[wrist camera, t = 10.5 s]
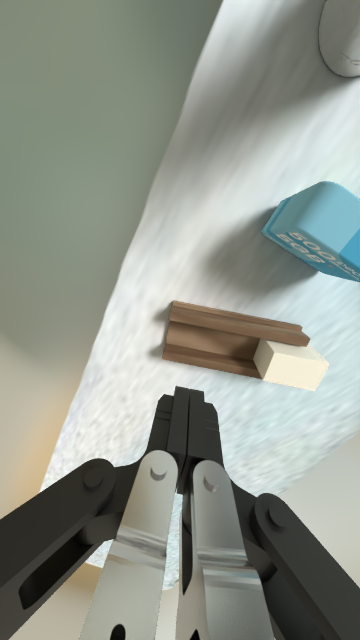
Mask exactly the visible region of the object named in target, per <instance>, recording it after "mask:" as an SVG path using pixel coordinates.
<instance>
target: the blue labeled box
mask: <svg viewBox="0 0 360 640" xmlns="http://www.w3.org/2000/svg"><path fill="white" fill-rule="evenodd" d="M262 234H263V235H264V236H265V237H267V238H268V239H270V240H271V241H273V242H275V243H276V244H278V245H279V246H281V247H282V248H284V249H285V250H287V251H288V252H290V253H291V254H293V255H294V256H296V257H298V258H299V259H301V260H302V261H304V262H305V263H307V264H308V265H310V266H311V267H313V268H314V269H316V270H318V271H320V272H322V273H325V274H328V275H332V276H336V277H340V278H344V279H348V280H352V281H357V282H360V199H359V198H358V197H357V196H355V195H354V194H352V193H351V192H350V191H348V190H347V189H345V188H344V187H343V186H341V185H339V184H337V183H334V182H328V181H324V182H319V183H317V184H315V185H313V186H311V187H309V188H307V189H305V190H303V191H301V192H299V193H297V194H295V195H293V196H291V197H289V198H287V199H284V200H282V201H281V202H280V204H279V205H278V207H277V208H276V210H275V211H274V213H273V214H272V216H271V217H270V219H269V220H268V222H267V223H266V225H265V226H264V228H263V229H262Z"/></svg>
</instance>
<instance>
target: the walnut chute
mask: <svg viewBox="0 0 360 640" xmlns="http://www.w3.org/2000/svg"><path fill="white" fill-rule="evenodd" d="M169 320H170V322H169V328H168V334H167V339H166V344H165V347H164V351H163V356H162V359H164V360H169V361H174V362H179V363H184V364H189V365H194V366H199V367H204V368H209V369H214V370H219V371H224V372H229V373H234V374H239V375H245V376H250V377H255V378H260V379H262V377H261V375H260V373H259V371H258V369H257V367H256V365H255V363H254V361H253V358H254V355H255V352H256V349H257V347H258V344H259V341H260V338H263V339H268V340H273V341H278V342H283V343H288V344H293V345H298V346H303V347H307V345H308V343H309V341H310V338H309V337H308V336H307V335H305V334H304V333H303V332H302V331H301V330H302V327H301V326H300V325H296V324H290V323H285V322H280V321H275V320H270V319H265V318H260V317H255V316H250V315H245V314H240V313H235V312H229V311H224V310H219V309H214V308H209V307H204V306H199V305H194V304H189V303H184V302H179V301H173V305H172V308H171V310H170V315H169Z"/></svg>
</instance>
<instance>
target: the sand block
mask: <svg viewBox="0 0 360 640" xmlns="http://www.w3.org/2000/svg"><path fill="white" fill-rule="evenodd" d="M253 361H254V363H255V365H256V367H257V369H258V371H259V373H260V375H261V377H262V379H263V381H267V382H272V383H277V384H282V385H287V386H292V387H298V388H303V389H308V390H313V391H315V390H316V389H317V387H318V385H319V383H320V381H321V379H322V377H323V375H324V374H325V372H326V370H327V368H328V366H329V364H330V363H329V362H328V361H327V360H326V359H325V358H324V357H322V356H321V355H320V354H319V353H318V352H317V351H316V350H315V349H314V348H313V347H311V346H310V345H309V344H308V345H307V347H303V346H298V345H293V344H288V343H283V342H278V341H273V340H268V339H263V338H260V341H259V344H258V347H257V349H256V352H255V355H254V358H253Z"/></svg>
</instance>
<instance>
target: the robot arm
mask: <svg viewBox="0 0 360 640" xmlns="http://www.w3.org/2000/svg"><path fill="white" fill-rule="evenodd" d="M319 45H320V50H321V54H322V56H323V59H324V61H325V63H326V64H327V66H328V67H329V68H330V69H331V70H332V71H333V72H335V73H336V74H338V75H341V76H344V77H355V76H359V75H360V0H326V2H325V5H324V8H323V12H322V15H321V19H320V26H319ZM176 488H177V494H182V495H183V502H182V510H181V513H180V519H179V602H178V610H177V621H176V640H275V639H276V640H360V588H359V587H358V586H357V585H356V583H355V582H354V581H353V580H352V579H351V578H350V577H349V576H348V574H347V573H346V572H345V571H344V570H343V569H342V567H341V566H340V565H339V564H338V563H337V562H336V561H335V559H334V558H333V557H332V556H331V555H330V554H329V552H328V551H327V550H326V549H325V548H324V547H323V546H322V544H321V543H320V542H319V541H318V540H317V539H316V537H315V536H314V535H313V534H312V533H311V532H310V531H309V529H308V528H307V527H306V526H305V525H304V524H303V523H302V522H301V520H300V519H299V518H298V517H297V516H296V515H295V513H294V512H293V511H292V510H291V509H290V508H289V507H288V505H287V504H286V503H285V502H284V501H282V500H281V499H280V498H279V497H277V496H275V495H273V494H270V493H263V494H261V495H259V496H258V497H255V496H253V495H252V494H250V493H248V492H247V491H245V490H243V489H241V488H240V487H238V486H237V485H236V484H235V483H234V482H233V481H232V480H231V479H230V478H229V475H228V474H227V472H226V471H225V468H224V464H223V457H222V449H221V440H220V432H219V424H218V415H217V411H216V410H215V408H214V406H213V404H211V403H206V402H204V392H203V391H199V390H194V389H190V390H189V389H188V388H183V387H178V386H176V387H175V391H174V396H171V395H166V394H164V395H163V396H162V397H161V398H160V399H159V401H158V404H157V408H156V413H155V417H154V421H153V425H152V429H151V433H150V437H149V441H148V446H147V449H146V451H145V453H144V455H143V456H142V457H141V458H140V459H139V460H138V461H137V462H135V463H133V464H130V465H126V466H120V467H114V466H113V465H112V464H111V463H110V462H109V461H108V460H105V459H101V458H97V459H92V460H89V461H87V462H85V463H84V464H82V465H81V466H79V467H78V468H76V469H75V470H73V471H72V472H70V473H69V474H67V475H66V476H64V477H63V478H61V479H60V480H58V481H57V482H55V483H54V484H52V485H51V486H49V487H48V488H46V489H45V490H43V491H42V492H40V493H39V494H37V495H36V496H35V497H33V498H32V499H30V500H29V501H27V502H26V503H24V504H23V505H21V506H20V507H18V508H17V509H15V510H14V511H12V512H11V513H9V514H8V515H6V516H5V517H3V518H2V519H0V640H8V639H9V638H10V637H11V636H12V635H13V634H14V633H15V632H16V631H17V630H18V629H19V628H20V627H21V626H22V625H23V624H24V623H25V622H26V621H27V620H28V619H29V618H30V617H31V616H32V615H33V614H34V613H35V612H36V611H37V610H38V609H39V608H40V607H41V606H42V605H43V604H44V603H45V602H46V601H47V599H49V598H50V597H51V595H52V594H53V593H54V592H55V591H56V590H57V589H58V588H59V587H60V586H61V585H62V584H63V583H64V582H65V581H66V580H67V579H68V578H69V577H70V576H71V575H72V574H73V573H74V572H75V571H76V570H77V568H79V567H80V566H81V565H82V564H83V563H84V562H85V561H86V560H87V559H88V558H89V557H90V556H91V555H92V554H93V553H94V551H95V550H96V549H97V548H98V547H99V546H100V545H101V544H102V543H103V542H104V541H108V540H112V539H114V540H113V542H112V544H111V547H110V549H109V552H108V555H107V558H106V561H105V564H104V567H103V570H102V573H101V576H100V579H99V582H98V585H97V587H96V590H95V593H94V596H93V599H92V602H91V605H90V608H89V611H88V614H87V617H86V620H85V623H84V625H83V629H82V632H81V634H80V637H79V640H155V634H156V627H157V620H158V613H159V606H160V600H161V593H162V586H163V579H164V572H165V565H166V548H167V541H168V534H169V528H170V521H171V515H172V508H173V502H174V495H175V492H176ZM274 638H275V639H274Z"/></svg>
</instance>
